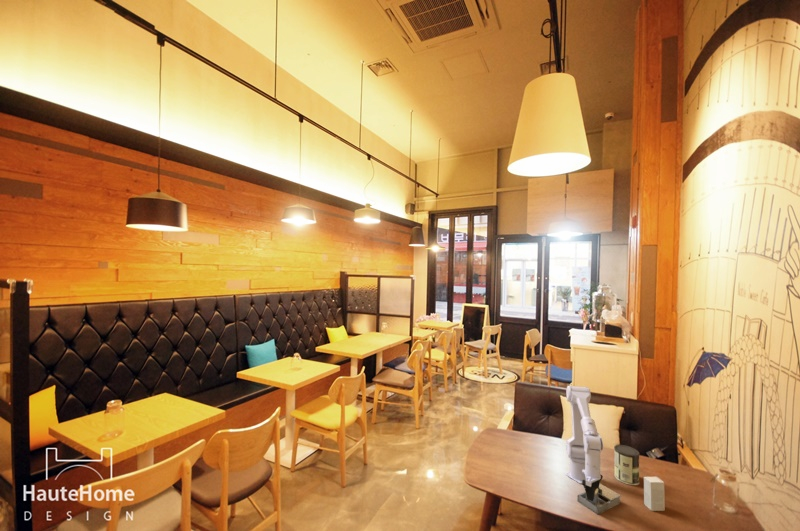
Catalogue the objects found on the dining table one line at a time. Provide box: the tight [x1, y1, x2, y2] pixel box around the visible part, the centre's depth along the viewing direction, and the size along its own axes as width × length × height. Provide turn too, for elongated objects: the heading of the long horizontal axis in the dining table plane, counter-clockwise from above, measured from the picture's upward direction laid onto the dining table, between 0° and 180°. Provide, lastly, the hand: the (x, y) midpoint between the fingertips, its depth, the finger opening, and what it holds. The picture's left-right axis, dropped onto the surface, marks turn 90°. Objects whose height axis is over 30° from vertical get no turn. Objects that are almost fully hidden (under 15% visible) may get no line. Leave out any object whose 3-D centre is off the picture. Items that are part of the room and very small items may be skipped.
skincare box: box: [643, 476, 666, 512], centre depth 142 cm, size 6×4×12 cm
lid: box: [598, 483, 621, 501], centre depth 147 cm, size 7×9×2 cm
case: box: [577, 491, 621, 515], centre depth 145 cm, size 16×9×3 cm, turn 117°
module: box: [586, 489, 599, 506], centre depth 143 cm, size 4×4×6 cm
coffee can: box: [613, 444, 640, 486], centre depth 163 cm, size 10×10×14 cm
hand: (592, 495), depth 143 cm, fingers open, 7 cm apart
